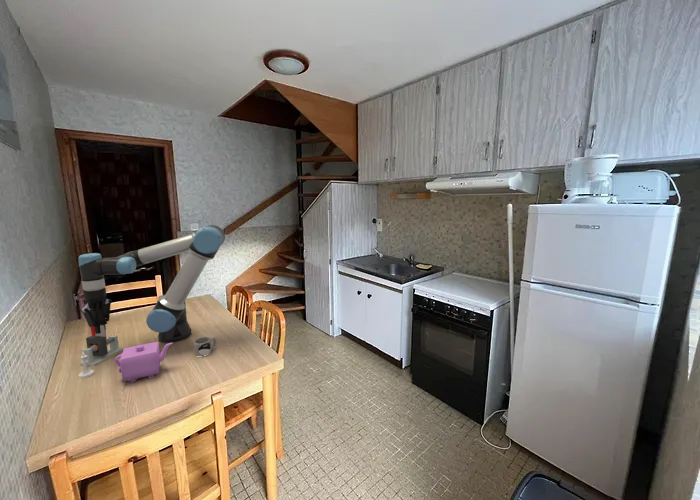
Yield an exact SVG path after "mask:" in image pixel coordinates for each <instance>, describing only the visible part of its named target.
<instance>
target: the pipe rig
mask: <svg viewBox="0 0 700 500" xmlns="http://www.w3.org/2000/svg"><path fill="white" fill-rule="evenodd" d="M106 343H107V345H109V347H107V350H108V354H107V355H105V356H103V357H102V356H93V354H92V352H95V351H97V350H99V347H98V344H95V345H93V346H91V347H90V348H82V349H81V353H82V352H84V354H85V355H87V358H86V360H88V362H87V367H96V366H98V365H99V364H101V363H102V362H105V361H107V360H108V359H110V358H112V357H113V356H115V355H118V353H120V352H123V350H124V348H123V347H120V345H119V338H118V335H108V338H107V339H106ZM81 356H83V354H82V355H81ZM79 365H80V366H83V364H81V362H79Z"/></svg>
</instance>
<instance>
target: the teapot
mask: <svg viewBox="0 0 700 500" xmlns="http://www.w3.org/2000/svg"><path fill="white" fill-rule="evenodd" d="M159 343H160V342H159V341H154V342H150V343H149V342H148V343H143V344H138V345H134V346H129V347H124V348H123V350H122V353H121V354H117V355H116V357H115V358H114V364H116V366H117V367H119V368H118V372H119V374H121V381H122V382H127V381H128V382H129V383H134V382H136V381H137V380H138V378H139V379H140V378H143V377H147V378H149V377H151V378H153V377H152V376H154V375H155V376H156V375H157V374H160V368H161V367H160V366H161V362H162V361H163V360H164V359H165V357H166V354H167V351H168V349H169V347H170V346H171V345H172V344H174V343H165V344H164V346H163V348H162V351H161V352H160V345H159ZM119 358H120V359H119ZM155 376H154V377H155ZM149 379H150V378H149ZM135 380H136V381H135Z"/></svg>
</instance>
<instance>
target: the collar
mask: <svg viewBox="0 0 700 500" xmlns="http://www.w3.org/2000/svg"><path fill="white" fill-rule="evenodd" d="M106 338H107V336H106V337H102V336H92V335H90V336H88V337H86V338H85V340H86V347H87V348H90V347H91V346H93V345H95V344H98V347H99V350H97V351H95V352H92V354H93V356H102V357H103V356H105V355H107V354H108V350H107V348H108V344H107V343H106Z"/></svg>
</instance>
